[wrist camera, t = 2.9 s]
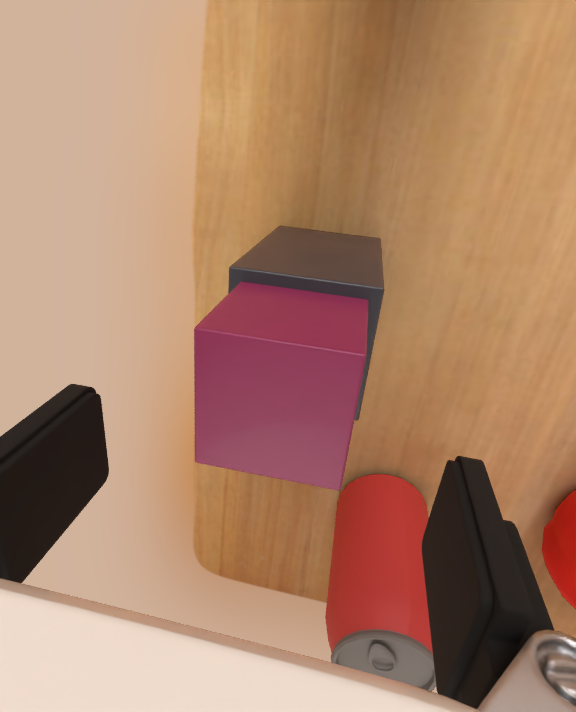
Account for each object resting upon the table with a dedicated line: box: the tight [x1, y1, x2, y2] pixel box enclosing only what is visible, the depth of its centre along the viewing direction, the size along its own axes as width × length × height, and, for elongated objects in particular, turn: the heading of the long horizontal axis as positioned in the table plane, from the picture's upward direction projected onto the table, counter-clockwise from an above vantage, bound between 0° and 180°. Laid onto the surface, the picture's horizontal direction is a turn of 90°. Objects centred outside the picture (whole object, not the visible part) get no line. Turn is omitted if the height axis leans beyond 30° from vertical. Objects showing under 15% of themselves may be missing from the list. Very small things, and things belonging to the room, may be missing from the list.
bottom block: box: [228, 226, 384, 420], centre depth 22 cm, size 6×6×10 cm
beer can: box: [326, 474, 436, 691], centre depth 28 cm, size 7×7×12 cm
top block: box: [194, 282, 368, 490], centre depth 16 cm, size 5×5×5 cm
